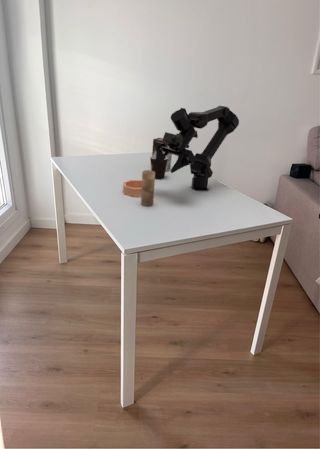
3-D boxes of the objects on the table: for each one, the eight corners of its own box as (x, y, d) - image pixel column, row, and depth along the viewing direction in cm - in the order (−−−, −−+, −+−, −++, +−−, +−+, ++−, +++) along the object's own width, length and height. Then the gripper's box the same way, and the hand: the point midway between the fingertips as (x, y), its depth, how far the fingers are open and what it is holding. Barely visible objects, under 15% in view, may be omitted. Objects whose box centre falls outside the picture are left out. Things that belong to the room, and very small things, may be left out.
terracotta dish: (148, 187, 145) (149, 179, 144) (153, 197, 134) (154, 189, 133) (121, 187, 143) (121, 179, 141) (124, 197, 132) (124, 189, 130)
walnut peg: (151, 201, 129) (153, 170, 124) (154, 206, 125) (156, 174, 120) (140, 201, 128) (141, 170, 123) (142, 206, 124) (143, 173, 118)
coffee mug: (164, 180, 156) (166, 160, 152) (147, 178, 157) (148, 158, 153) (168, 174, 166) (170, 155, 162) (152, 172, 168) (153, 153, 163)
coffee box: (150, 168, 174) (152, 138, 167) (156, 166, 179) (158, 137, 172) (164, 172, 169) (167, 141, 163) (171, 170, 174) (173, 140, 168)
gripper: (158, 121, 128) (136, 151, 126) (194, 128, 117) (171, 162, 114) (169, 139, 137) (149, 168, 134) (204, 148, 126) (183, 179, 123)
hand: (162, 169), depth 126 cm, fingers open, 9 cm apart
